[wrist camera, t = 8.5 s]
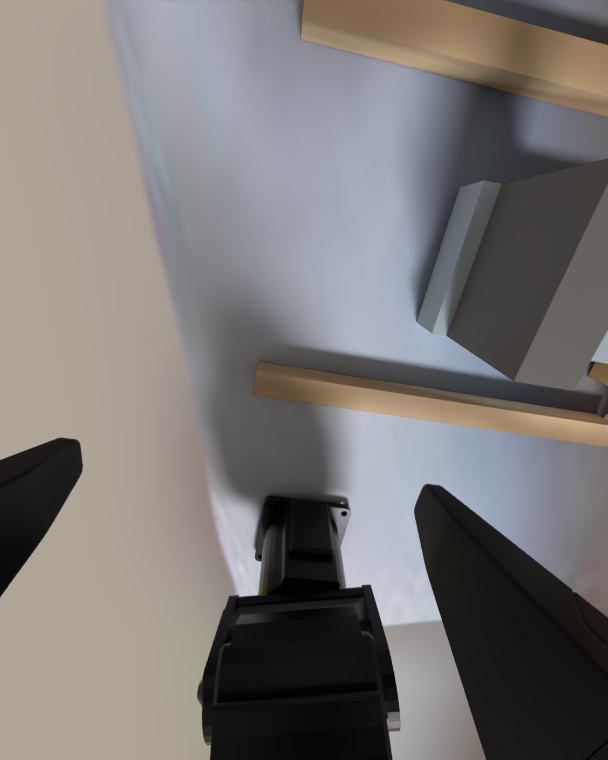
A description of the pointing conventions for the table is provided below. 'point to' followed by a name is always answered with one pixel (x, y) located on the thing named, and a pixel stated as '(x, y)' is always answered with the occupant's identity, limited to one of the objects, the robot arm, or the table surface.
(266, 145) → the table surface
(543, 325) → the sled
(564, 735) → the robot arm
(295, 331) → the table surface
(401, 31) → the rails
